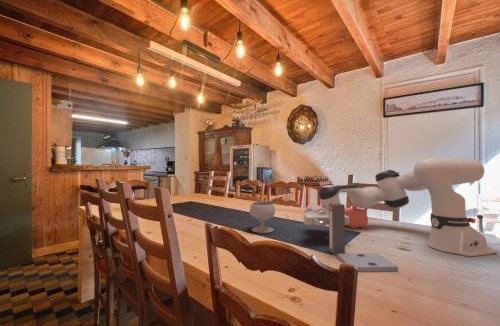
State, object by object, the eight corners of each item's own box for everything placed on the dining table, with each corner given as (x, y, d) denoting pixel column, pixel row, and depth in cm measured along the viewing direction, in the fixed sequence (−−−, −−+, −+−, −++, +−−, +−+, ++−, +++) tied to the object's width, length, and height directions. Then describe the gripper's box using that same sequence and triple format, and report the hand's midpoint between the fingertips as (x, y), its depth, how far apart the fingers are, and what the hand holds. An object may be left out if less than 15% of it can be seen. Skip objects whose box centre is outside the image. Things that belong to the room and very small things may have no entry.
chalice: (267, 226, 135) (267, 200, 136) (280, 232, 123) (279, 204, 123) (246, 228, 130) (245, 202, 130) (256, 235, 117) (256, 206, 117)
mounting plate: (377, 256, 89) (377, 252, 89) (398, 271, 77) (398, 266, 77) (337, 257, 89) (337, 253, 89) (351, 271, 77) (351, 267, 77)
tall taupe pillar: (339, 250, 96) (339, 202, 97) (344, 254, 92) (344, 205, 92) (328, 250, 96) (328, 203, 97) (333, 254, 91) (332, 205, 92)
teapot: (349, 231, 124) (348, 209, 124) (334, 225, 135) (334, 205, 135) (377, 227, 130) (377, 206, 130) (361, 223, 141) (360, 203, 142)
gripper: (342, 222, 112) (355, 230, 98) (300, 223, 111) (308, 231, 98) (342, 209, 112) (355, 216, 98) (300, 210, 111) (308, 216, 98)
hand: (332, 223), depth 98 cm, fingers open, 8 cm apart
